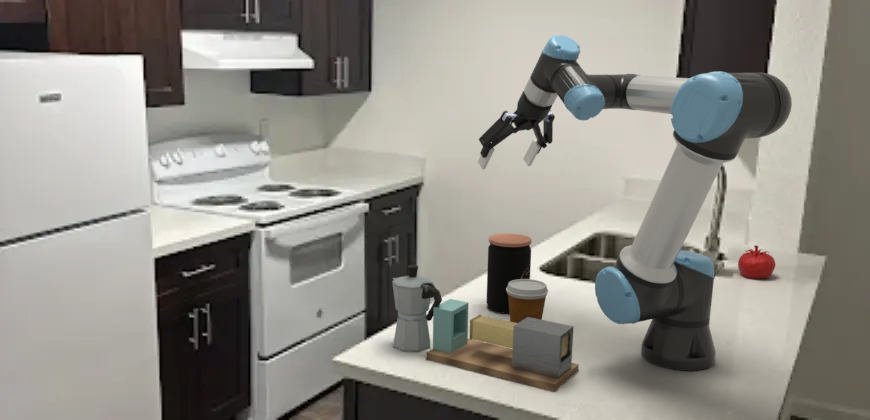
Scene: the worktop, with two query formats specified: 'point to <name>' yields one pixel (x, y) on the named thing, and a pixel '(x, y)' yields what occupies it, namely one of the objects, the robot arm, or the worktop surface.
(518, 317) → the disposable coffee cup
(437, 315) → the socket
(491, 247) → the coffee jar
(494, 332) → the wooden crossbeam
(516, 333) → the sleeve
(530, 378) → the board
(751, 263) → the pomegranate
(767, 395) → the worktop surface
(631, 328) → the worktop surface
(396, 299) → the coffee maker
